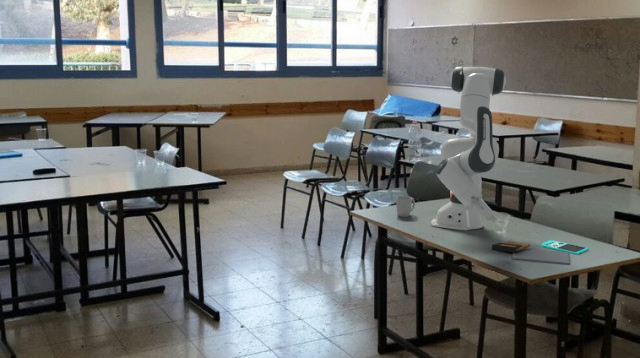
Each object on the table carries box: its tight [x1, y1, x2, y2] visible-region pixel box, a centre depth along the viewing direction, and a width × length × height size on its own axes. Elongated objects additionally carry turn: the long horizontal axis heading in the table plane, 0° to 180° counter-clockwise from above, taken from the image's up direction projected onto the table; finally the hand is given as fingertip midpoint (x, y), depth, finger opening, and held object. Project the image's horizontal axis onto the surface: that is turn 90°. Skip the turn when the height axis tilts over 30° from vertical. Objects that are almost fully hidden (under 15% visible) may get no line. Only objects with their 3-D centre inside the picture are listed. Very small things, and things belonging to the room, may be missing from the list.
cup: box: [395, 195, 416, 218], centre depth 315 cm, size 8×10×8 cm
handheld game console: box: [541, 239, 590, 256], centre depth 264 cm, size 10×16×1 cm, turn 43°
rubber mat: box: [511, 248, 571, 265], centre depth 253 cm, size 20×14×1 cm
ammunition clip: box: [491, 241, 532, 253], centre depth 261 cm, size 11×2×12 cm
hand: (494, 220), depth 255 cm, fingers closed
